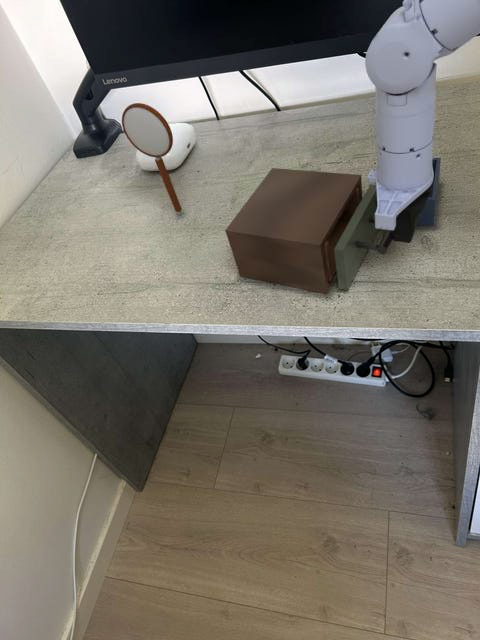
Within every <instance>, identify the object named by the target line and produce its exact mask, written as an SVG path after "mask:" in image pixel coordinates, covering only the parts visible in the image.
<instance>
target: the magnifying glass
mask: <svg viewBox="0 0 480 640" xmlns="http://www.w3.org/2000/svg"><path fill="white" fill-rule="evenodd" d="M168 124H169V123H168V121H167V120H166V118H165V117H164V116H163V115H162V114H161V113H160V112H159V111H158V110H157V109H155V108H154V107H152V106H151V105H149V104H147V103H146V104H145V103H142V102H135V103H132V104H129V105H128V106H126V107H125V109H124V110H123V112H122V116H121V125H122V131H123V132H124V135H125V136H126V138H127V140H128V141H129V143H131V145H132V146H133V147H134V148H135V149H136V150H137V149H138V150H139V151H140V152H142V153H143V154H145V155H148V156H150V157H155V158H156V159H155V162H156V165H157V167H158V169H159V171H158V172H159V175H160V177H161V179H162V181H163V184H164V186H165V189H166V192H167V194H168V197H169V199H170V201H171V204H172V206H173V209H174V211H175V212H176V213H177V215H178V216H181V215H182V214H183V211H182V208H183V207H182V206H181V205H182V204H181V203H180V201H179V198H178V196H177V192H176V190H175V188H174V185H173V182H172V180H171V177H170V175H169V171H168V170H166V167H165V165H164V162H163V159H162V157H163V156H165V155H166V154H168V153H169V151H170V150H171V148H172V145H173V136H172V131H171V129H170V126H169V125H168Z"/></svg>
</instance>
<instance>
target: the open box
mask: <svg viewBox="0 0 480 640" xmlns="http://www.w3.org/2000/svg"><path fill="white" fill-rule="evenodd" d="M441 160H442V157H433V159H432V167H433V174H434V175H433V183H434V184H433V189H432V191H431V193H430V195H429V197H428V200H427V202H426V204H425V206H424V208H423V210H422V211H421V213H420V216H419V220H418V223H417V227H434V226H435V220H436V211H437V204H438V195H439V187H440V177H441V176H440V175H441Z"/></svg>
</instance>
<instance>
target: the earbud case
mask: <svg viewBox="0 0 480 640" xmlns="http://www.w3.org/2000/svg"><path fill="white" fill-rule="evenodd" d="M168 125H169V126H170V129H171V131H172V136H173V145H172V148H171V150H170V151H169V153H168V154H166V155H165V156H163V157H162V159H163V162H164V165H165V167H166V170H167V171H173V170H175V169H177V168H179V167H180V166H181V165H182V164H183V162H184V161H185V160H186V158H187V157H188V155H189V154H190V152H191V151H192V149H193V148H194V146H195V145H196V141H197V134H196V130H195V129H194V127H193V125H191V124H189V123H187V122H186V123H185V122H176V123H168ZM155 159H156V158H155V157H150V156H148V155H145V154H143V153H142V152H140V151H139V150H138V149H136V152H135V160H136V164H137V165H138V167H139V168H140V169H141V170H143V171H147V172H159V169H158V167H157V165H156V162H155Z"/></svg>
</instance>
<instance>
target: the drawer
mask: <svg viewBox="0 0 480 640" xmlns="http://www.w3.org/2000/svg"><path fill="white" fill-rule="evenodd" d="M376 195H377V189H376V184H374V183H370V184H369V185H368V187H367V189H366V191H365V193H364V194H363V195H362V197H363V198H362V200H361V202H360V196H359V188H357V189H356V190H355V192H354V194H353V195H352V197H351V199H350V201H349V202H348V204H347V206H346V208H345V209H344V211H343V213H342V214H341V216H340V218H339V220H338V221H337V223H336V225H335V227H334V228H333V230H332V232H331V233H330V235H329V237H328V239H327V240H326V242H325V244H324V246H323V248H324V255H325V262H326V269H327V276H328V281H331V280H332V278H333V276H334V274H335V273H336V271H337V277H336V279H337V285H338V289H339V290H346V291H348V290H349V288H350V286H351V285H352V282H353V280H354V279H355V276H356V274H357V272H358V270H359V268H360V266H361V264H362V262H363V261H364V258H365V256H366V254H367V252H368V250H371V251H376V252H377V254H378V255H382V256H384V255H387V254H388V253H389V250H390V248H391V246H392V244H393V242H394V239H393V237H392V234H391V231H390V230H384V232H383V234H382V236H381V238H380V240H379V242H378V243H374V242H373V241H374V238H375V237H376V234H377V233H378V230H379V229H378V228H375V212H376V210H377V208H376V205H375V197H376Z"/></svg>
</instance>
